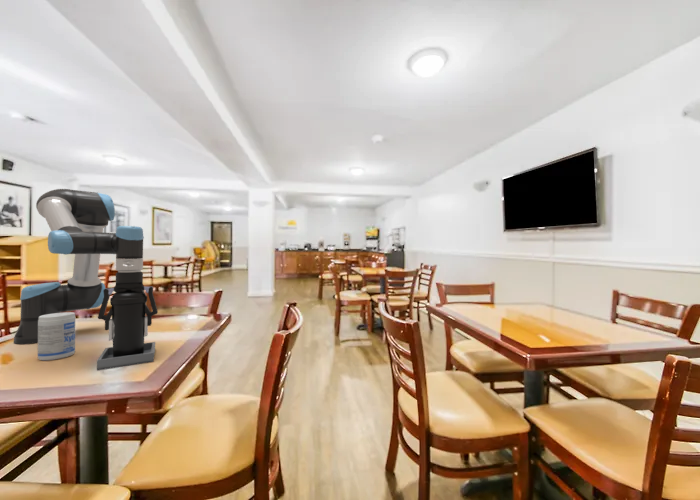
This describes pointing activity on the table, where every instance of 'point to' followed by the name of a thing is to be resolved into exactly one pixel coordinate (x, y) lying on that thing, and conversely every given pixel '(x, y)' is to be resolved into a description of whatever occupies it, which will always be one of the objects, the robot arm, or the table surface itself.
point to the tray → (125, 358)
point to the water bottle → (128, 322)
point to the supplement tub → (56, 336)
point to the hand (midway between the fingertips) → (128, 337)
